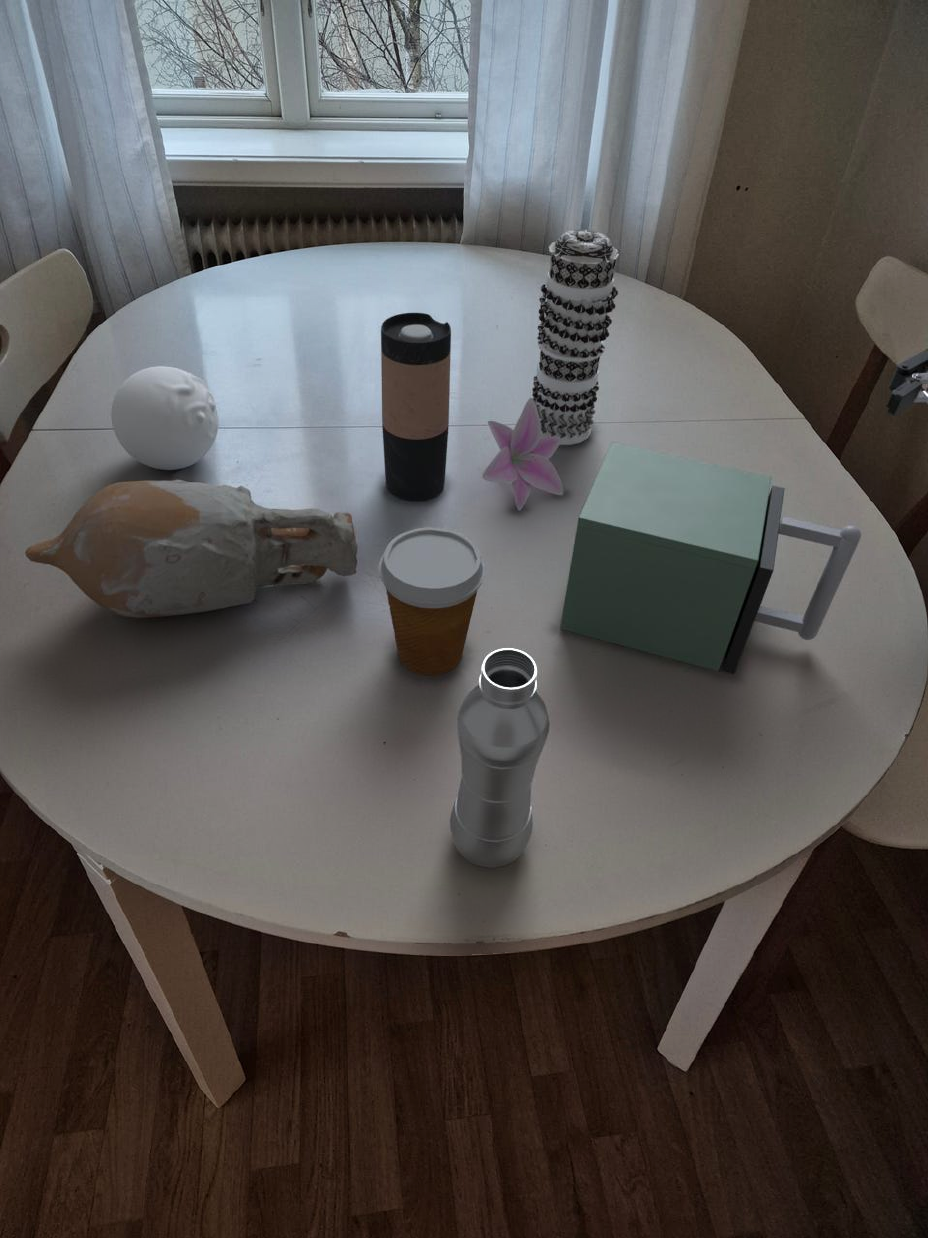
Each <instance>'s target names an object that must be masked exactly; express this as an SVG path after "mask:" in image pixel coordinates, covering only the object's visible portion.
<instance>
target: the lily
mask: <svg viewBox="0 0 928 1238" xmlns="http://www.w3.org/2000/svg"><path fill="white" fill-rule="evenodd" d="M532 398H533V397H530V398H528V400H527V401H526V403H525V405H524V407H523V409H522V411H521V414H520V416H519V418H518V420H517V422H516V423H515V426H514V428H511V427H509V426H508V425H505V424H503V423H501V422H497V421H494V420H487V425H488V428H489V430H490V432H491V435H492V437H493V438H494V440H495V443H496V445H497V446H498V448H499V452H498V453H497V454H496V455H495V456H494V458H493V459H492V461H491V462H490V463H489V464H488V466H487V467H486V468H485V470H484V471H483V473H482V477H481V478H482V479H483V480H484V481H488V482H492V483H493V482H494V483H511V487H512V492H513V497H514V502H515V505H516V508H517V510H518V511H521V510H522V509H523V507H524V506H525V504H526V502H527V501H528V498H529V496H530V494H531V491H532V486H533V487H534V488H537V489H539V490H542V491H545V492H547V493H550V494H553V495H557V496H563V495H564V491H565V490H564V487H563V486H564V485H563V483H562V480H561V477H560V475H559V474H558V471H557V470H556V467H555V465H554V464H553V463H552V461H550V458H552V456H553V455H554V454H555V453H556V451H557V449H558V448H559V446H561V445H560V442H561V439H560V438H558V437H554V436H541V423H540V418H539V414H538V410H537V407H536V404H535V402H534V400H533V399H532Z"/></svg>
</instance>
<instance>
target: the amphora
mask: <svg viewBox="0 0 928 1238" xmlns="http://www.w3.org/2000/svg"><path fill="white" fill-rule="evenodd" d="M358 546H359V545H358V543H357V539H356V531H355V526H354V523H353V517H352V514H350V513H349V512H335V513H334V514H333V515H332V514H331V513H329V512H327V511H324V510H322V509H320V508H317V507H312V508H301V509H286V508H269V507H265V506H262V505H259V504H257V503H255V502H254V500H253V498H252V493H251V490H250V489H248V488H246V487H244V486H242V485H239V486H238V487H234V486H231V485H229V484H228V485H227V484H222V485H217V484H210V483H209V484H208V483H204V482H198V481H197V482H195V481H193V482H192V481H185V480H183V479H174V480H133V481H121V482H120V481H119V482H114V483H111V484H108V485H106V486H104V487H103V488H102V489H100V490H98V491H96V493H94V494H92V496H90V497H89V498H88V499H87V500H86V501H85V502H84V503H83V504H82V505H81V506H80V507H79V509H78V510H77V511H76V513H75V514H74V515H73V516H72V518H71V519H70V521H69V522H68V524H67V525H66V527H65V528H64V529H63V530H62V532H61V533H60V534H59V535H57V536H56V537H54V538H51V539H49V540H45V541H41V542H38V543H34V544H32V545H30V546H28V547H27V548H26V549H25V557H26V558H27V559H28V560H29V561H30V562H33V563H37V564H43V565H49V566H51V567H55V568H57V569H59V570H61V571H62V572H64V573H65V574H66V575H67V576H68V577H69V579H70V580H71V581H72V582H73V583H74V584H75V585H76V586H77V587H78V588H79V590H81V591H82V593H83V594H84V595H86V596H87V597H88V598H89V599H90V600H92V601H93V602H94V603H95V604H97V605H98V606H99V607H101V608H102V609H104V610H106V611H108V612H109V613H111V614H114V615H118V616H121V617H125V618H136V619H137V618H139V619H140V618H142V619H143V618H157V617H159V618H160V617H169V616H180V615H189V614H195V613H196V614H197V613H203V612H209V611H215V610H221V609H227V608H230V607H237V606H241V605H246V604H250V603H252V602H254V599H255V598H256V597H255V596H256V592H257V589H258V588H263V587H267V586H268V587H269V586H279V585H280V586H281V585H296V584H299V585H300V584H301V585H302V584H303V585H308V584H310V583H316V582H317V581H319V580H321V578H322V577H323V576H324V575H325V574H326V572H327V570H329V571H330V572H333V573H335V574H336V575H337V576H341V577H350V576H352V575H356V573H357V567H358V566H357V565H358V557H357V554H358Z"/></svg>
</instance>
